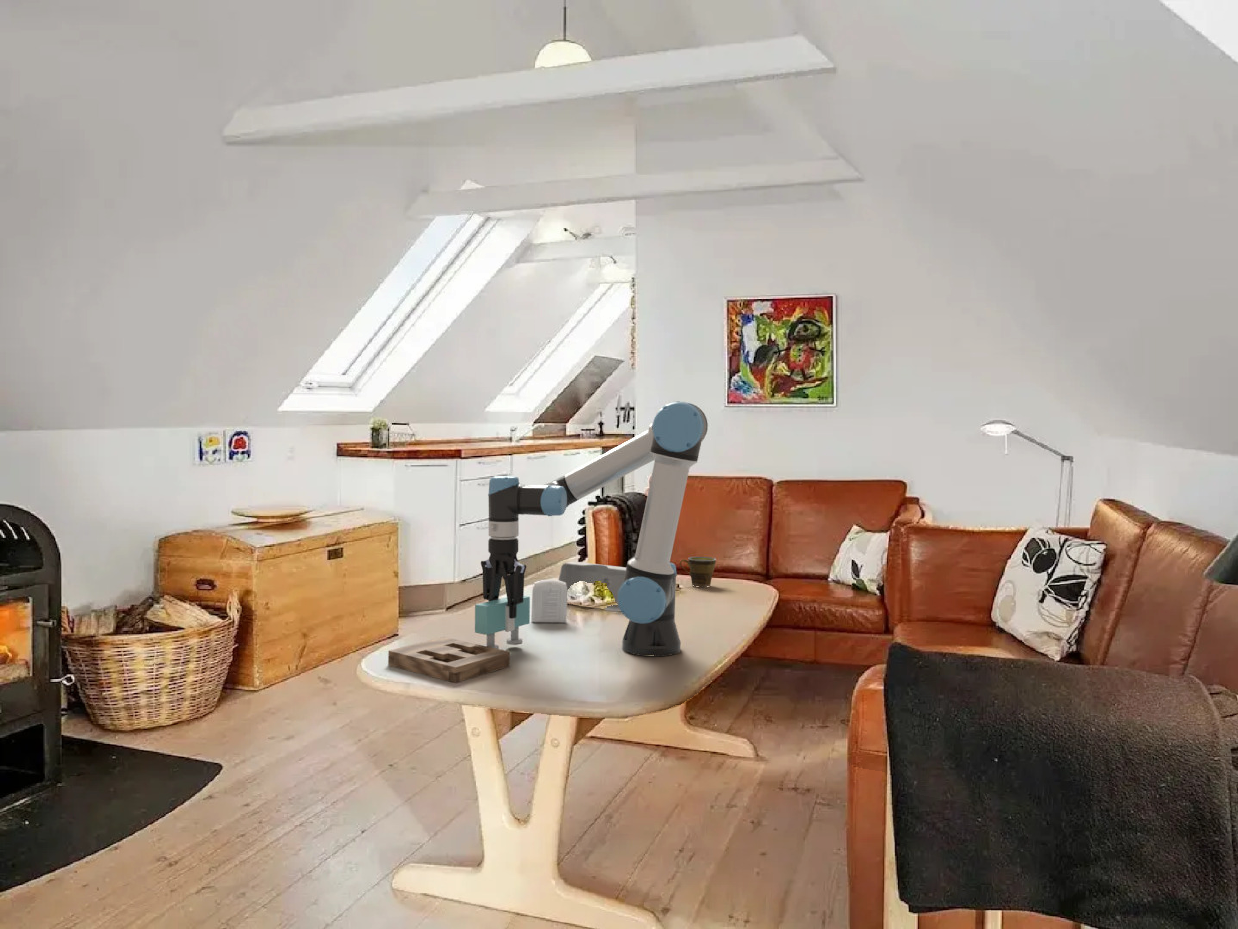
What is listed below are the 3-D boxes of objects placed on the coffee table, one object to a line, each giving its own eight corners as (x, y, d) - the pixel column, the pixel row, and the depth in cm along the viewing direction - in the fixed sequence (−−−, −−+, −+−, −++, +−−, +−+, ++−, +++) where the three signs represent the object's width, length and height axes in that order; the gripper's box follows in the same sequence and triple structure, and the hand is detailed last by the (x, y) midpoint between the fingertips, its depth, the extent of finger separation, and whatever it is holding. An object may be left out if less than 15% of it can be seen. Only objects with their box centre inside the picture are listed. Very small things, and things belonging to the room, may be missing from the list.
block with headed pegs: (529, 641, 235) (529, 596, 235) (486, 654, 222) (487, 606, 222) (517, 639, 238) (518, 594, 237) (474, 651, 225) (475, 604, 224)
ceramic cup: (715, 584, 334) (716, 557, 333) (714, 589, 324) (715, 561, 323) (680, 582, 335) (681, 555, 335) (678, 587, 325) (679, 559, 325)
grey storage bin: (645, 604, 295) (646, 566, 294) (622, 612, 281) (623, 572, 280) (579, 595, 307) (580, 558, 306) (553, 603, 292) (554, 564, 292)
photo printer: (566, 620, 268) (567, 578, 267) (567, 623, 263) (568, 581, 263) (531, 620, 266) (532, 578, 266) (531, 623, 262) (532, 581, 261)
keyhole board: (509, 666, 216) (509, 651, 216) (455, 683, 202) (455, 667, 202) (443, 650, 229) (444, 636, 229) (388, 665, 214) (388, 650, 214)
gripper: (468, 536, 230) (467, 627, 232) (519, 541, 221) (518, 637, 222) (488, 533, 237) (488, 622, 238) (539, 538, 227) (538, 631, 228)
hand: (502, 629), depth 230 cm, fingers closed on block with headed pegs, 4 cm apart
